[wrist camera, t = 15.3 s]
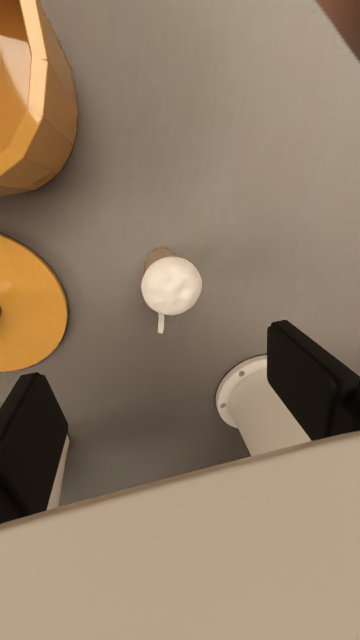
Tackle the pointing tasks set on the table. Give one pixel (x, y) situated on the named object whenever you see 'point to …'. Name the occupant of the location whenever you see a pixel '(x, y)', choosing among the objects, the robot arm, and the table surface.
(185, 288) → the milkshake
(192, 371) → the table surface
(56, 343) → the lid
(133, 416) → the table surface
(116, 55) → the table surface
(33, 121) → the orange bowl
